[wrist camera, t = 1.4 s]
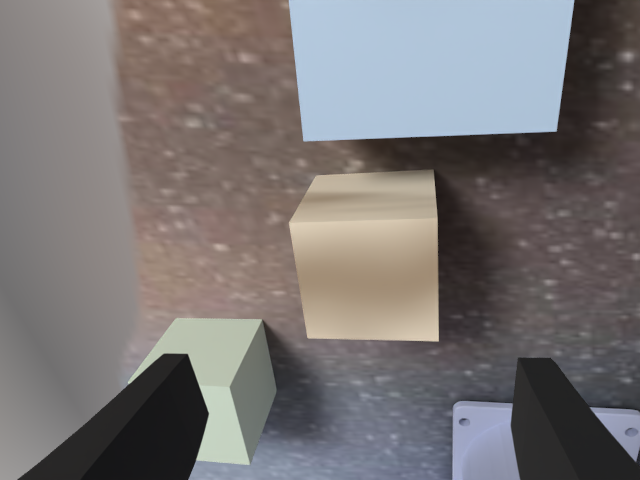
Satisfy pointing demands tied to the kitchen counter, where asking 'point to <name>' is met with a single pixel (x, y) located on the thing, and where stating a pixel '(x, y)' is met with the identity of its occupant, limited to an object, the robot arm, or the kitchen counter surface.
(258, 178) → the kitchen counter surface
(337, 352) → the kitchen counter surface
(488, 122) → the blue base block
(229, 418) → the sage green block
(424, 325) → the birch block
